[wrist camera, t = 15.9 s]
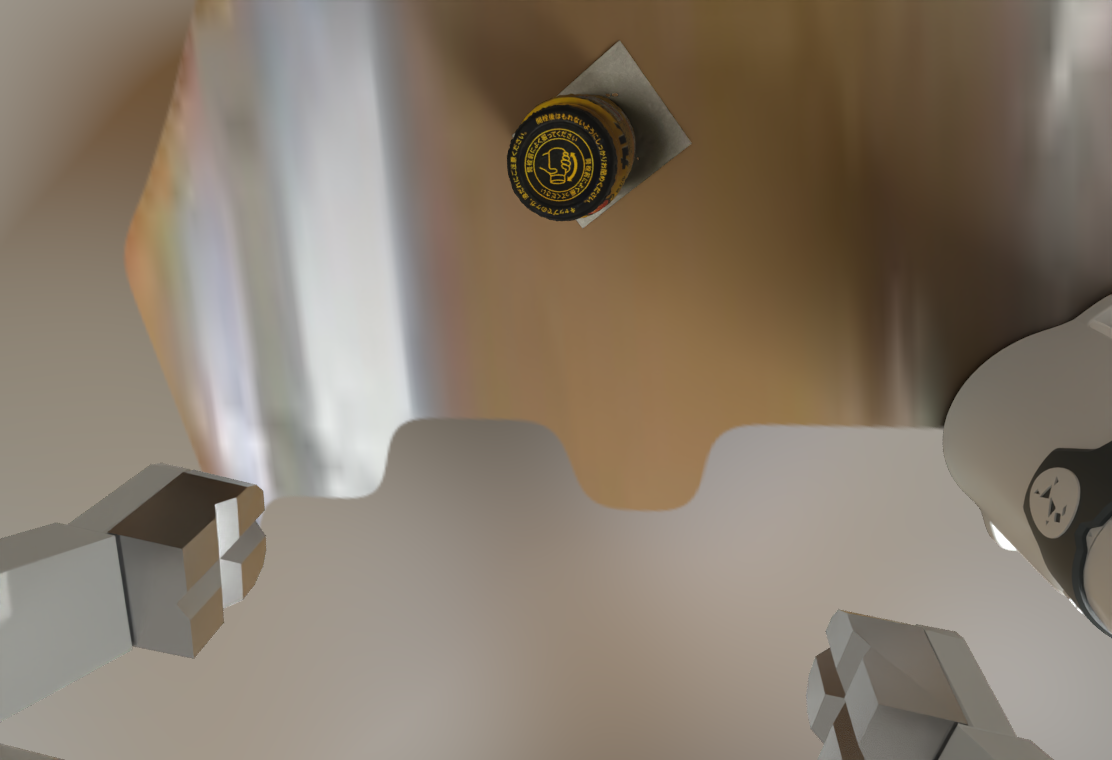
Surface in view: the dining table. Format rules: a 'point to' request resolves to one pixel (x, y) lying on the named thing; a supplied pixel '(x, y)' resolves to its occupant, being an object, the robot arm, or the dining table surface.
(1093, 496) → the robot arm
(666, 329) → the dining table surface
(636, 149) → the condiment
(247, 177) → the dining table surface
